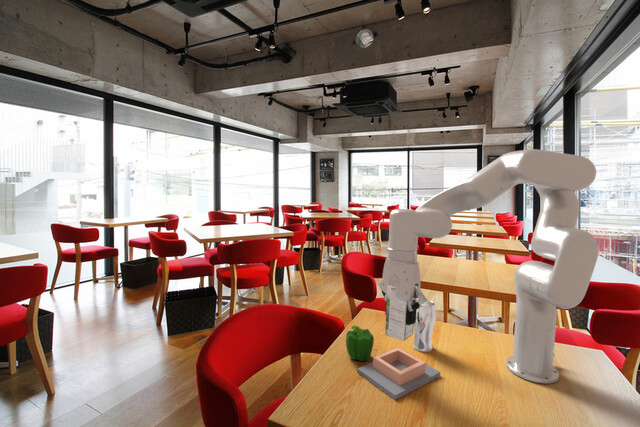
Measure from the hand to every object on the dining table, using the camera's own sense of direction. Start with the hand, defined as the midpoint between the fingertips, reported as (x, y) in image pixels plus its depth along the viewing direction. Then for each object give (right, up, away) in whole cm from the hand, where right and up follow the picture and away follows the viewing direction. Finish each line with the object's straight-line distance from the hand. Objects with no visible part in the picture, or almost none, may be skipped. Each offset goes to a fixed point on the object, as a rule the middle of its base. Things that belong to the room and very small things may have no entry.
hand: (400, 318), depth 90 cm
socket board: (0, -16, +2) cm, 16 cm away
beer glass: (+11, -15, +17) cm, 25 cm away
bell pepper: (-10, -15, +10) cm, 21 cm away
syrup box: (0, -5, 0) cm, 5 cm away
